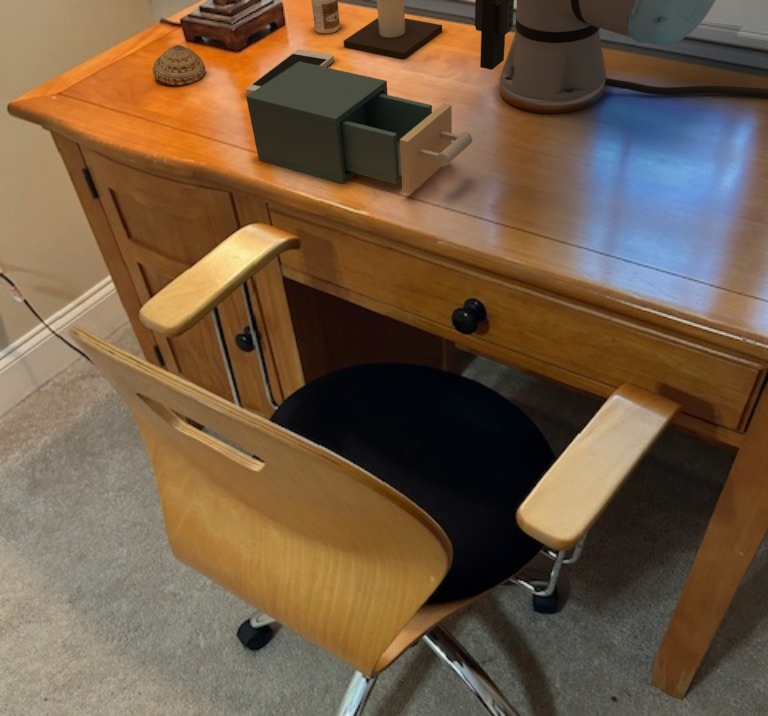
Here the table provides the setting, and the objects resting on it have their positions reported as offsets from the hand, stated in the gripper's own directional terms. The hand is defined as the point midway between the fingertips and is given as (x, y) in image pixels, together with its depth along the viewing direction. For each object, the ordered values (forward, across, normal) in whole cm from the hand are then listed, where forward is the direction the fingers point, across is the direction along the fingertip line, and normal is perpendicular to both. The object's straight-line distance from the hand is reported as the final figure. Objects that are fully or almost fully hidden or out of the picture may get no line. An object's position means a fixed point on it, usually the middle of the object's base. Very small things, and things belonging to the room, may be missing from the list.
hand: (492, 63), depth 88 cm
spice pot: (+15, +38, -36) cm, 55 cm away
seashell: (+16, +63, -10) cm, 66 cm away
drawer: (+15, +13, 0) cm, 20 cm away
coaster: (+16, +38, -36) cm, 55 cm away
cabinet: (+16, +26, 0) cm, 31 cm away
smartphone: (+16, +45, -17) cm, 51 cm away
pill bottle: (+16, +51, -35) cm, 64 cm away
